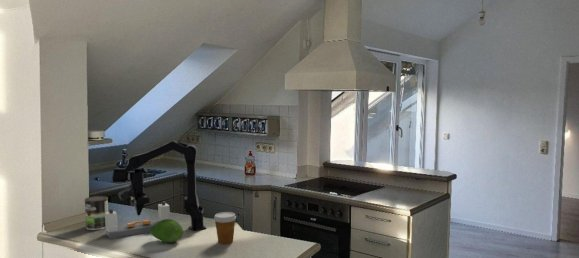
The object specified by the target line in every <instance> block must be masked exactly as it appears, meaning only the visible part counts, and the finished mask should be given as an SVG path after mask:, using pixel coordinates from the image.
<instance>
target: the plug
mask: <svg viewBox="0 0 579 258" xmlns="http://www.w3.org/2000/svg"><path fill="white" fill-rule="evenodd" d="M170 206H171V205H169V204H168V203H166V201H165V200H164V201H161V204H160V203H159V204H157V208H158V209H157V210H158V211H157V212H158V220H159V221H162V220H165V219H171V213H170V212H171V210H170V209H171V207H170Z"/></svg>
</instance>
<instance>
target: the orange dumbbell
mask: <svg viewBox="0 0 579 258" xmlns="http://www.w3.org/2000/svg"><path fill="white" fill-rule="evenodd" d="M150 221H151V220H150V219H146V220H140V221H139V220H138V221H133V222H128V223H126V225H127V227H132V226H135V224H137V223H142V224H150V223H151V222H150Z"/></svg>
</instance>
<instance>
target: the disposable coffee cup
mask: <svg viewBox="0 0 579 258" xmlns="http://www.w3.org/2000/svg"><path fill="white" fill-rule="evenodd" d="M236 219H237V216H236V214H235V213H234V212H231V211H224V212H223V211H222V212H218V213H216V214H215V215H214V217H213V220H214V224H215V229H216V230H215V231H216V234H217V235H216V237H217V242H218V244H220V245H230V244H232V243H234V235H235V234H234V233H235V224H236Z"/></svg>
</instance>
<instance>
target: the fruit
mask: <svg viewBox="0 0 579 258" xmlns="http://www.w3.org/2000/svg"><path fill="white" fill-rule="evenodd" d="M149 233H150V235H151V236H153V237H154V238H155V239H157V240H159V241H161V242H163V243H168V244H170V243H171V244H173V243H176V242H177V241H179V240H180V239H181V238H182V236H183V234H184V228H183V226H182V224H180V223H179V221H177V220H175V219H171V218H170V219H165V220H162V221H160V222H157V223H156V224H154V225H153V226H152V228H151V231H150V232H149Z"/></svg>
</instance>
